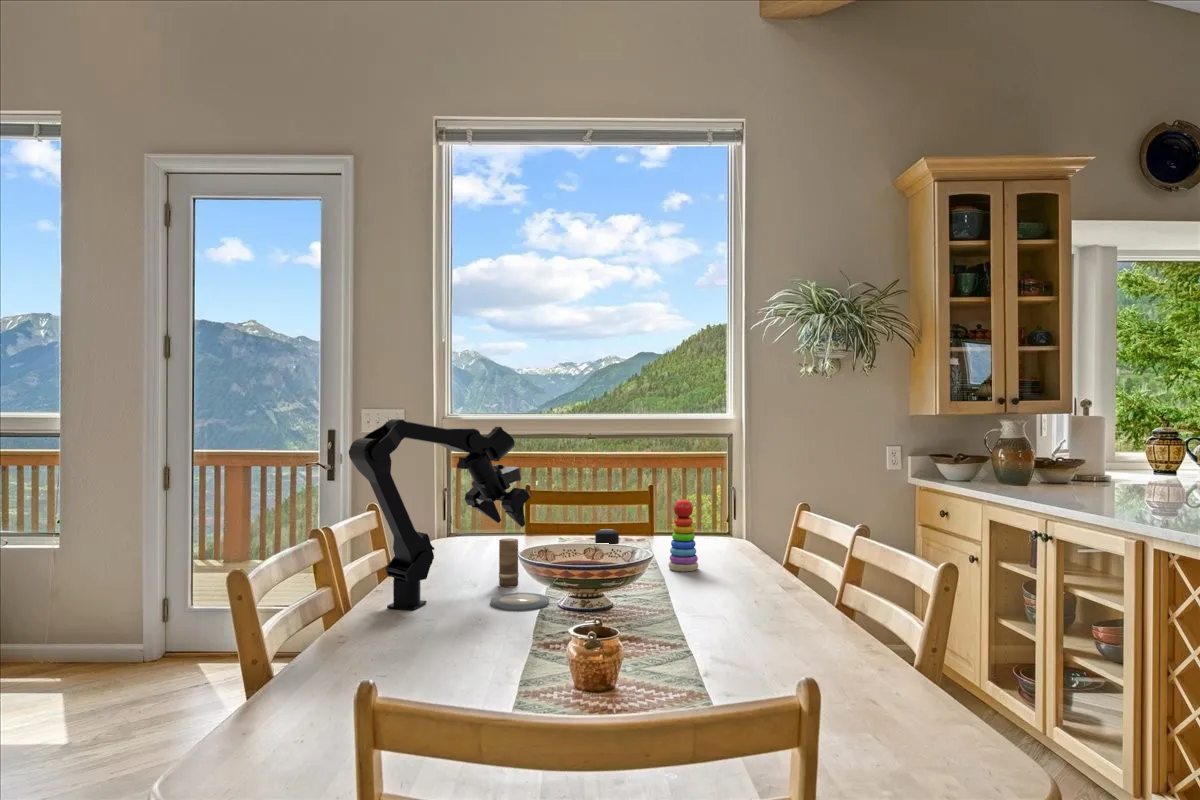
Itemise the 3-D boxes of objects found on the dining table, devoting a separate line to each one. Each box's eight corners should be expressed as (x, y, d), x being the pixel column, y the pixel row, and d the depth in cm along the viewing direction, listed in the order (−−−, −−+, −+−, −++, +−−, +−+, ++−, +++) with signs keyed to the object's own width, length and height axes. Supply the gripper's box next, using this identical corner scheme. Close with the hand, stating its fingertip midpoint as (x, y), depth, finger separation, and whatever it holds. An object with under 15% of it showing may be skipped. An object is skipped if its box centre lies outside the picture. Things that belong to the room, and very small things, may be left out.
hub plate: (537, 612, 173) (537, 608, 173) (481, 608, 176) (481, 604, 176) (556, 598, 185) (556, 594, 185) (503, 594, 189) (503, 590, 189)
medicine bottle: (620, 580, 204) (620, 532, 204) (592, 579, 204) (592, 532, 204) (620, 573, 211) (620, 527, 211) (593, 573, 211) (593, 527, 211)
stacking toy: (663, 567, 219) (663, 498, 219) (688, 565, 222) (688, 496, 222) (677, 573, 212) (678, 501, 211) (704, 570, 215) (704, 500, 215)
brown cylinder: (514, 587, 196) (514, 542, 196) (495, 586, 197) (495, 541, 197) (521, 583, 200) (521, 538, 200) (503, 582, 202) (503, 538, 201)
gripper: (530, 455, 192) (557, 506, 198) (481, 451, 205) (508, 500, 211) (499, 484, 185) (528, 536, 191) (451, 478, 198) (479, 527, 204)
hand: (511, 523), depth 199 cm, fingers open, 9 cm apart
